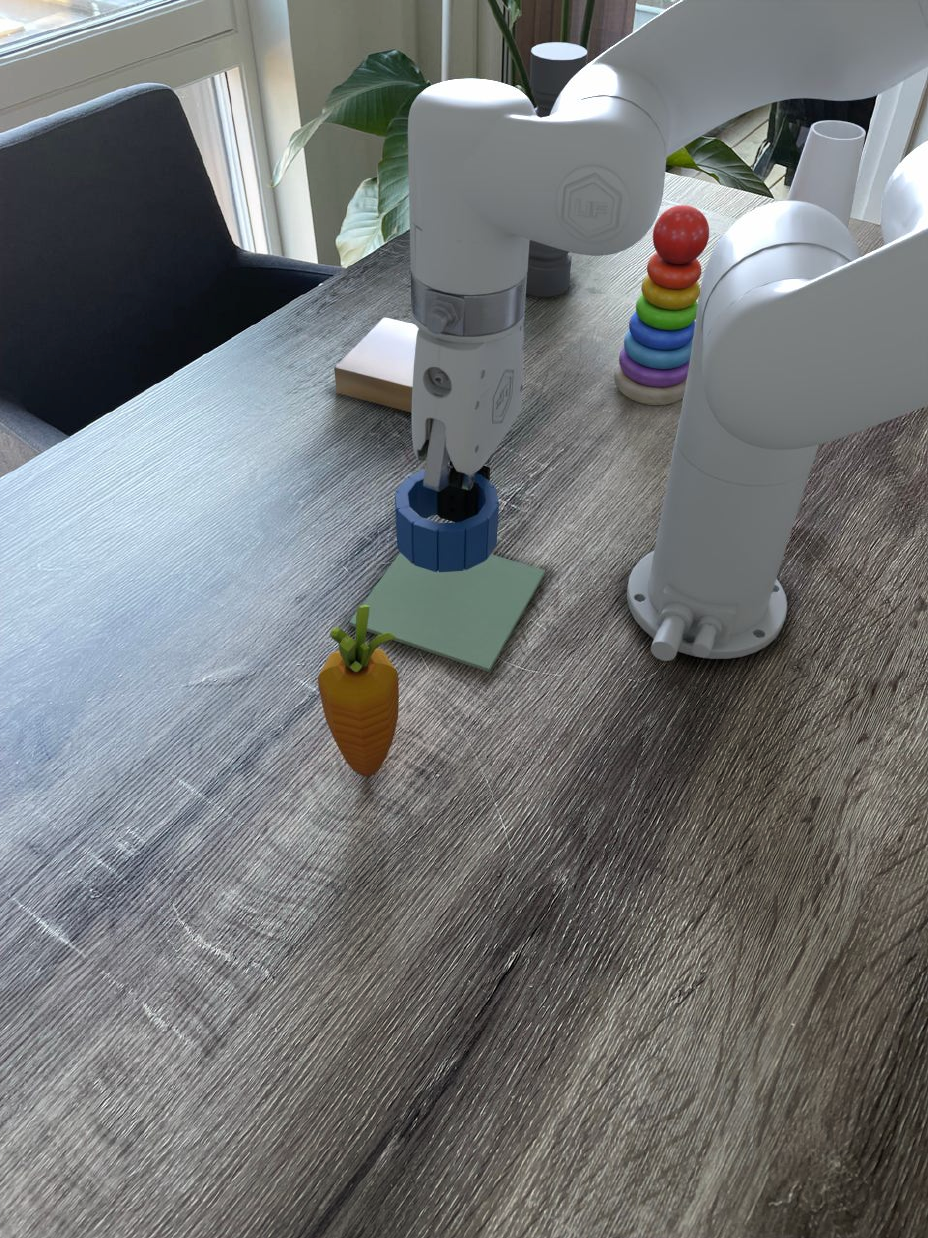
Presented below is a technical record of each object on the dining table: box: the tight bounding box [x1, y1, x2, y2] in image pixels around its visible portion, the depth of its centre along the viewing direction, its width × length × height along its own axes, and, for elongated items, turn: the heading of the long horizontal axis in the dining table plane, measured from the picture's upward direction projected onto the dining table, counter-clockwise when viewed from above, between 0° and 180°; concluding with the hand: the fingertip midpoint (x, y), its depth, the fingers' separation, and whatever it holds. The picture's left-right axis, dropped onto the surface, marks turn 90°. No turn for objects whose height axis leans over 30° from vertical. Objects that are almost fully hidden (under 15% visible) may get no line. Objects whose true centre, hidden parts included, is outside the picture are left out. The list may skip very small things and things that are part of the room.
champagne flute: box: [785, 119, 867, 230], centre depth 97 cm, size 7×7×24 cm
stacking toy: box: [613, 204, 710, 406], centre depth 96 cm, size 8×8×19 cm
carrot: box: [317, 604, 400, 778], centre depth 63 cm, size 5×5×15 cm
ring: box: [394, 466, 500, 572], centre depth 75 cm, size 8×8×4 cm
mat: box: [348, 551, 546, 673], centre depth 81 cm, size 12×12×1 cm
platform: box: [333, 317, 418, 414], centre depth 103 cm, size 11×12×3 cm
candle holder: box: [526, 41, 588, 298], centre depth 109 cm, size 6×6×25 cm
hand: (462, 511), depth 78 cm, fingers closed on ring, 1 cm apart
